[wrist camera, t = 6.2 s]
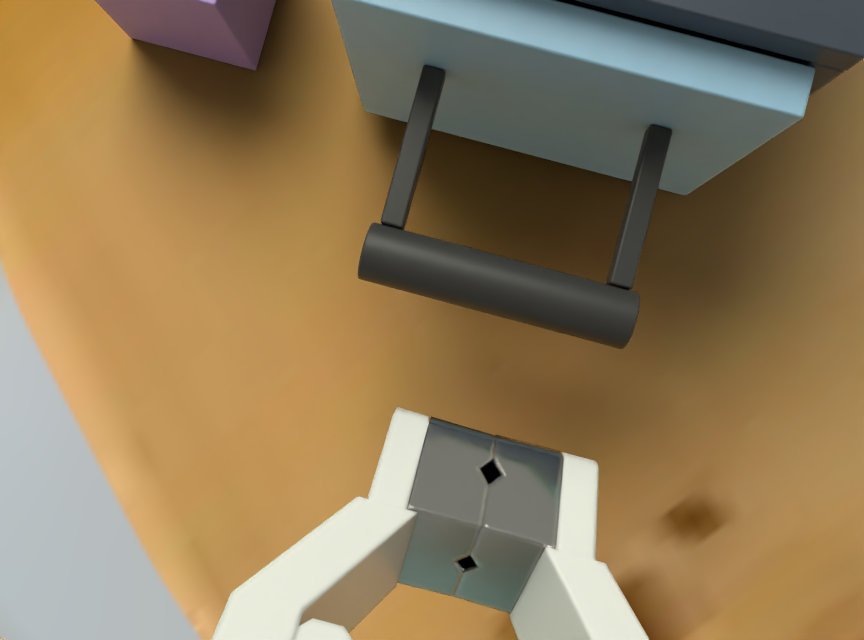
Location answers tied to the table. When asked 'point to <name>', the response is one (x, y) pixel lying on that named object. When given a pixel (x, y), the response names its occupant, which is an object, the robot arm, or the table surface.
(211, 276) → the table surface
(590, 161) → the blue drawer
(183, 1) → the purple block
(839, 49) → the drawer cabinet
